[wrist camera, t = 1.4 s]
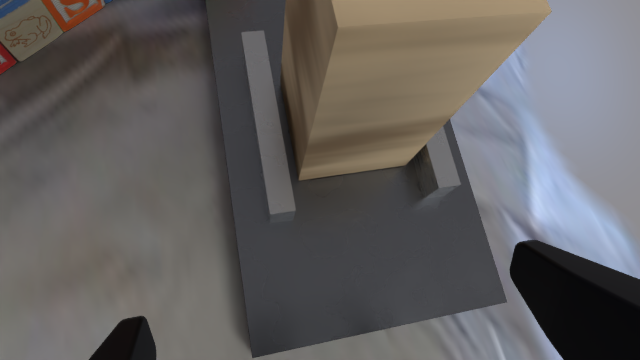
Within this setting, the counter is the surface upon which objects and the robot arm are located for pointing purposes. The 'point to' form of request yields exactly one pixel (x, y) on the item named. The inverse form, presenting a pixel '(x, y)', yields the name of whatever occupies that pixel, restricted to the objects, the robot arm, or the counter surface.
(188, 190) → the counter surface
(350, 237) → the chute
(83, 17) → the stack of blocks
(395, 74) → the oak block
